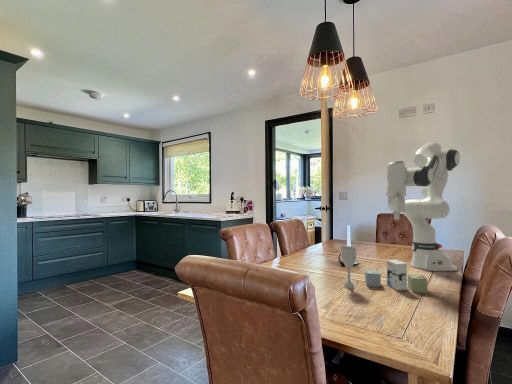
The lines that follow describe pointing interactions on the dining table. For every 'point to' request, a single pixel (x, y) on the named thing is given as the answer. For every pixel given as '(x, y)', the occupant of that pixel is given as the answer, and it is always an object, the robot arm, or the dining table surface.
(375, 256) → the dining table surface
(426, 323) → the dining table surface
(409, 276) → the olive block
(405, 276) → the ink box
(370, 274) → the slate block
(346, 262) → the chalice
